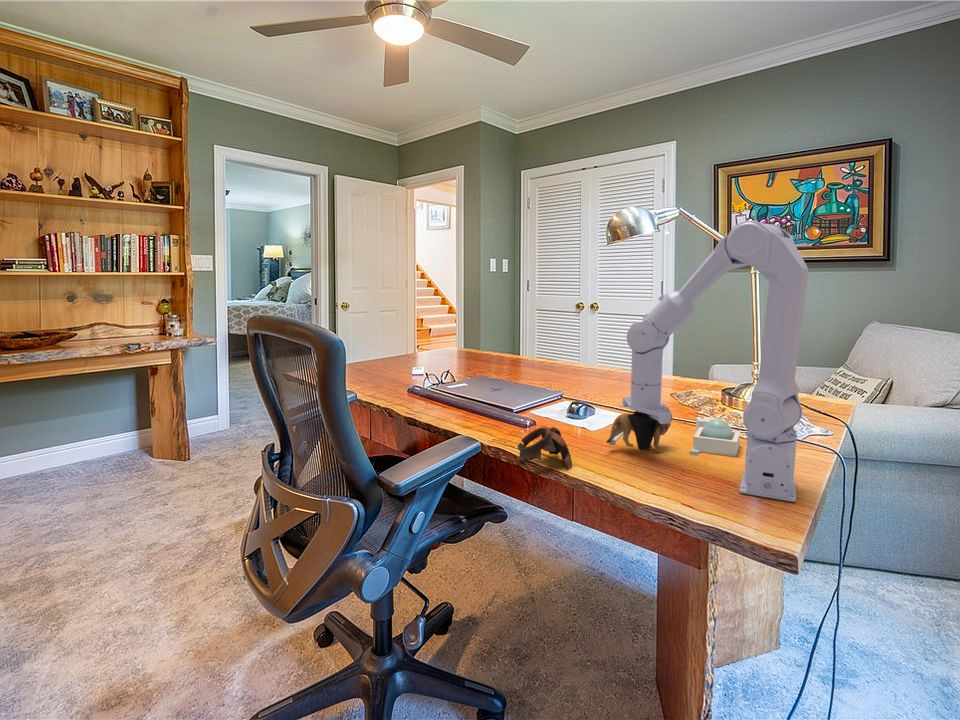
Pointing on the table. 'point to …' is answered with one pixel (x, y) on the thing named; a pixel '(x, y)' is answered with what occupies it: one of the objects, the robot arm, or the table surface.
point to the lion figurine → (625, 426)
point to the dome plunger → (717, 429)
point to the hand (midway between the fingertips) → (643, 449)
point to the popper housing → (716, 443)
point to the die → (702, 421)
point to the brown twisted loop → (544, 445)
